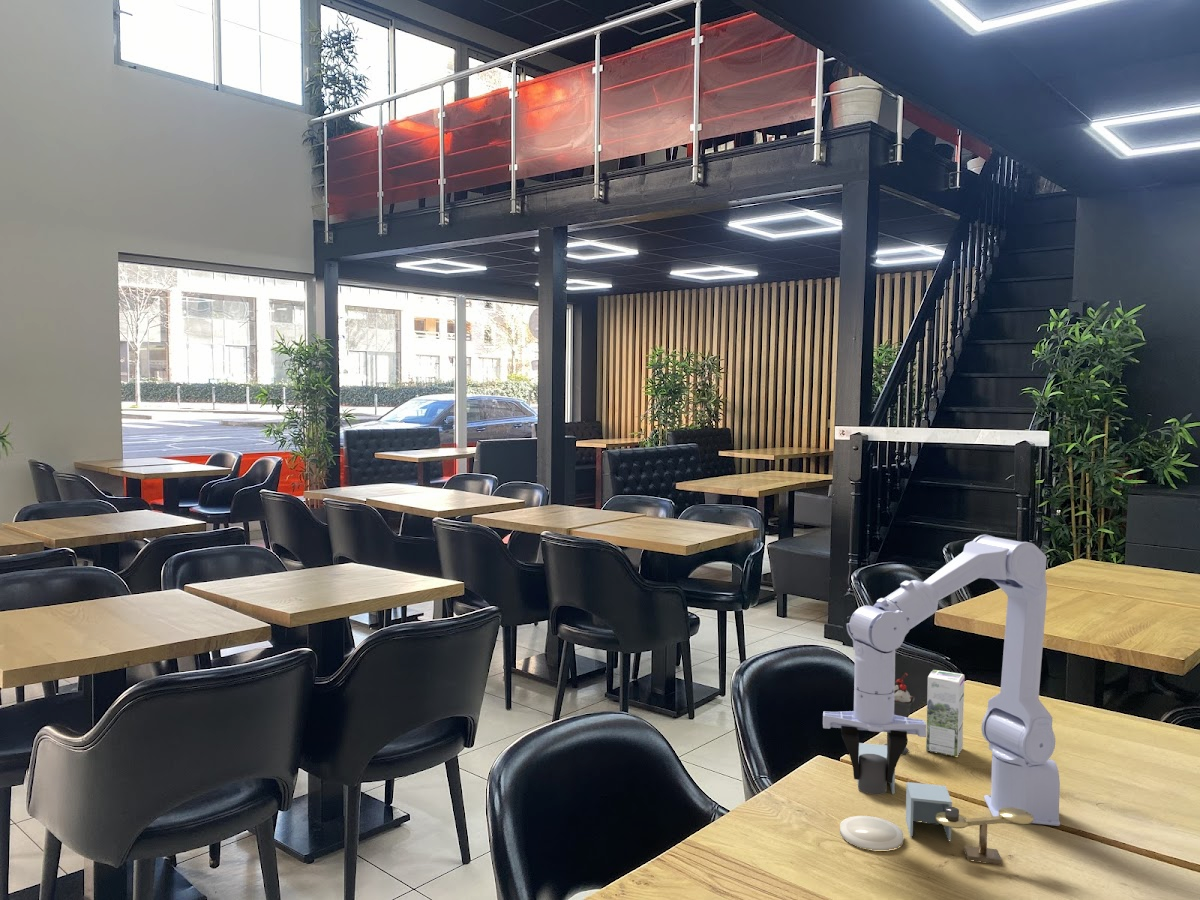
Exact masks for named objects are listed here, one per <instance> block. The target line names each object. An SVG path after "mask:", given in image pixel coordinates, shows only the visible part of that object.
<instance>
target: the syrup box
mask: <svg viewBox="0 0 1200 900" xmlns="http://www.w3.org/2000/svg"><path fill="white" fill-rule="evenodd" d="M926 689H927V692H926V693H927V694H926V695H927V696H926V698H927V701H926V737H925V738H926V740H925V741H926V742H925V746H926V747H925V750H926V752H928V751H930V752H929V753H933V752H937V753H936V754H938V753H941V754H940V755H942V754H947V755H952V756H958V755H960V754H961V752H962V750H963V746H964V744H963V743H964V735H963V734H964V731H963V730H964V702H965V700H964V699H965V674H963V673H958V672H953V671H951V672H950V671H945V670H938V669H932V671H930V673H929V674H928V676H927V688H926ZM960 751H961V752H960ZM959 753H960V754H959ZM947 755H946V756H947ZM952 756H951V757H952ZM958 757H959V756H958Z"/></svg>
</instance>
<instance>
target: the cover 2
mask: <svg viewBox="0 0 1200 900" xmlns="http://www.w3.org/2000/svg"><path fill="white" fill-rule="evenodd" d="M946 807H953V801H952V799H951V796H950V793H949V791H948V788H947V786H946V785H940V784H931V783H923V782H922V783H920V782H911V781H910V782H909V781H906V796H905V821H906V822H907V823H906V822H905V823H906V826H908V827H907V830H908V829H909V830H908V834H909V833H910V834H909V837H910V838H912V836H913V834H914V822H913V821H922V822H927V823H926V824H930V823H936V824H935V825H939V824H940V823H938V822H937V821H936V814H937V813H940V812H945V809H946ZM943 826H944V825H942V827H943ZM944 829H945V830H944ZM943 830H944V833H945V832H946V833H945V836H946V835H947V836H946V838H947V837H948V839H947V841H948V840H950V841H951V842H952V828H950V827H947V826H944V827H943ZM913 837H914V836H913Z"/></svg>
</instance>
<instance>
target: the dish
mask: <svg viewBox="0 0 1200 900" xmlns="http://www.w3.org/2000/svg"><path fill="white" fill-rule="evenodd" d="M839 834H841V835H840V837H841V836H842V837H843V838H842V837H841V838H842V839H843V840H844V839H845V840H846V841H847V843H848V842H849V843H851V844H853V845H856V846H858V847H861V848H866V849H872V850H889V849H894V848H898V847H899V846H901V845H902V846H903V844H904V833H903V830H902V829H901V827H899V825H897V824H895V823H893V822H892V821H890V820H887V819H884V818H882V817H876V816H869V815H854V816H849V817H846V818H845V819H843V820H842V821H841V822H840V823H839ZM845 840H844V841H845ZM846 841H845V842H846ZM849 843H848V844H849ZM902 843H903V844H902ZM851 844H850V845H851ZM853 845H852V846H853ZM902 846H901V847H902ZM858 847H857V848H858ZM861 848H860V849H861ZM898 849H899V848H898Z"/></svg>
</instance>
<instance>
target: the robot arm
mask: <svg viewBox="0 0 1200 900" xmlns="http://www.w3.org/2000/svg"><path fill="white" fill-rule="evenodd" d="M1047 558H1048V557H1047V556H1046V554H1045V553H1044V552H1043V551H1042V550H1041V549H1040V548H1039V547H1038V546H1037V545H1036V544H1034V543H1033V542H1028V541H1019V540H1018V541H1017V540H1013V539H1007V538H1002V537H995V536H994V535H991V534H990V535H989V534H980V535H978V536H977V537H975V538H974V539H973V540H971V541H969V542H967V543H965V544H964V547H963V550H962V552H961V553H958V555H957V556H955V557H954V558H953V559H951V560H950V561H949V562H947V563H946V564H945V565H943V566H942V567H941V568H940V569H938V570H937V571H935V573H933V574H932V575H931V576H929V577H927V579H925V580H924V581H920V580H918V579H917V580H916V579H912V580H904V581H902V582H901V583H899V585H900V587H899V588H897V589H895V590H894V591H893V592H891V593H890V594H888V595H887V596H885V597H880V598H878V599H877V600H876V602H875V603H874V605H862V606H860V607H858V608H857V609H856V610H855V611H854V612H853V613H852V615H851V617H850V619H849V622H848V623H846V631H847V634H848V636H849V637H850V639H852V650H853V651H854V672H853V673H854V674H853V675H854V683H853V686H854V687H853V689H854V690H853V710H852V711H851V710H849V711H847V710H846V711H825V710H824V711H823V713H822V728H823V729H831V728H835V729H837V728H838V729H840V732H841V737H842V740H843V742H844V745H845V747H846V749H847V752H848V755H849V759H850V761H851V762H850V763H851V764H852V766H851V767H852V769H853V772H852V773H853V779H854V780H856V781H857V780H859V761H858V756H859V743H860V736H859V735H860V734H859V731H869V732H877V733H886V739H887V740H886V741H887V742H886V744H887V782H886V784H887V783H888V784H890V783H892V778H893V774H894V770H895V771H896V767H897V764H898V762H899V759H900V758H901V756H902V755H901V754H902V752H903V751H904V749H905V748H907V745H908V735H913V736H914V735H915V736H917V737H920V738H926V733H927V722H926V721H925V719H919V718H912V717H903V716H897V715H894V692H895V682H896V650H897V649H899V648H900V647H901V646H902V644H903V642H904V641H905V637H906V636H907V634H908V633H909V632H910V630H911V629H913V628H915V627H916V626H917V625H919V624H920V623H921V622H923V621H925V620H926V619H927V618H929V617H931V616H932V615H934V614H936V612H937V611H938V605H939V601H940V600H942V599H944V598H946V597H947V596H949V595H951V594H953V593H954V592H956V591H958V590H959V589H961V588H964V587H965V586H967V585H969V584H971V583H972V582H974V581H976V580H978V579H989V580H990V581H992V582H994V583H995V584H996V585H997V586H998V587H999V588H1000V589H1001V590H1002V591H1003V592H1004V593H1005V595H1006V596H1007V600H1006V601H1007V603H1006V604H1007V605H1006V616H1005V628H1004V642H1003V652H1002V653H1003V655H1002V667H1001V680H1000V692H999V693H998V694H995V695H994V696H992V697H991V698H988V700H987V709H986V711H985V714H984V716H983V719H982V720H981V721H982V722H981V727H980V728H981V734H982V737H983V738H984V740H986V741H987V742H988V750H990V751H991V775H990V776H991V779H990V781H991V786H990V795H988V794H984V796H983V799H984V801H985V803H986V805H987V808H988V809H989V812H990V814H991V817H994V816H999V809H1001V808H1004V807H1012V808H1018V809H1022V810H1025V811H1027V812H1029V813H1030V814H1031V815H1032V816H1033V822H1031V823H1030V824H1037V825H1046V826H1056V827H1060V826H1061V822H1060V790H1061V789H1060V788H1061V783H1060V781H1061V780H1060V773H1059V768H1058V765H1057V762H1056V761H1055V760H1053V759H1050V758H1051V756H1053V753H1054V751H1055V747H1056V736H1055V734H1054V729H1053V716H1052V715H1051V713H1050V712H1049V710H1048V709H1047V708H1046V707H1045V705H1044V704H1043V703H1042V701H1041V700H1040V698H1039V697H1040V686H1041V685H1040V684H1041V672H1042V659H1043V650H1044V649H1043V647H1044V635H1045V634H1044V633H1045V623H1046V622H1045V621H1046V608H1047V597H1048V596H1047V595H1048V584H1047V581H1046V574H1047V573H1046V571H1047V569H1046V568H1047Z"/></svg>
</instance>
